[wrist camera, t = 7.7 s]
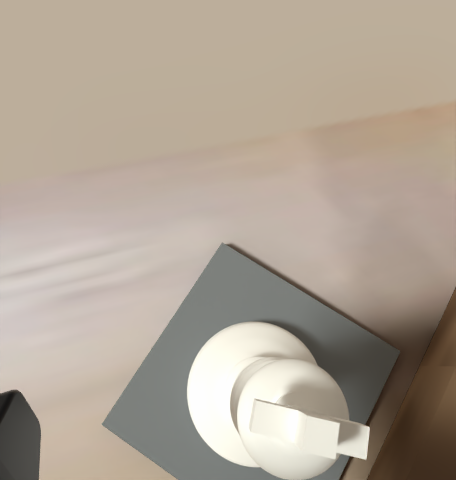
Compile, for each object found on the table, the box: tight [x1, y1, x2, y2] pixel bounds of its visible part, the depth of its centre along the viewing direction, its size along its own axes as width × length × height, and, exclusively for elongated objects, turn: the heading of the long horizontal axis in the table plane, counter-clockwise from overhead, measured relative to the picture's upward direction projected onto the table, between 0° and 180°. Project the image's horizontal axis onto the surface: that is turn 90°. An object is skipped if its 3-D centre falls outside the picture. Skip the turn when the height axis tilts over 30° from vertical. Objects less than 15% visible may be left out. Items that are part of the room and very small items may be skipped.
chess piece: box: [187, 322, 370, 480], centre depth 10 cm, size 5×5×10 cm
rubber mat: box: [102, 243, 400, 480], centre depth 15 cm, size 8×8×1 cm
